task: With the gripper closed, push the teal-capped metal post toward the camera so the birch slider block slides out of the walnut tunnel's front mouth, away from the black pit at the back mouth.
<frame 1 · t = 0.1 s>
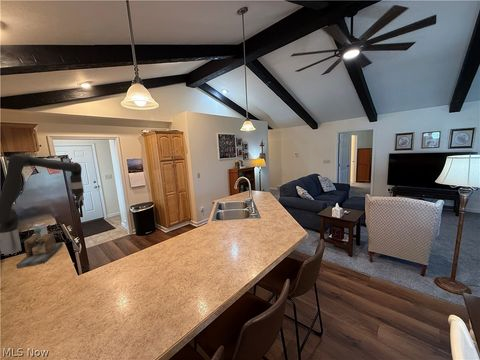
hand: (80, 207, 163), 29 cm above the kitchen counter, fingers open, 8 cm apart
syrup box: (42, 240, 171), on the kitchen counter
slider block: (39, 240, 143), point 11 cm above the kitchen counter, slide at 0.0 cm
tunnel: (42, 255, 145), on the kitchen counter
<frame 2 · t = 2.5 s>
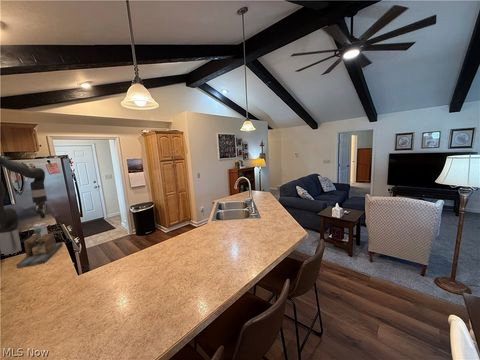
hand: (43, 218, 149), 25 cm above the kitchen counter, fingers closed
nothing on the kitchen counter moved.
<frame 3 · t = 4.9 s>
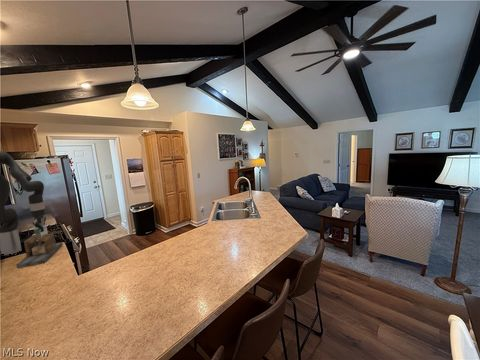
hand: (41, 231, 146), 17 cm above the kitchen counter, fingers closed
slider block: (39, 240, 143), point 11 cm above the kitchen counter, slide at -0.3 cm, touching gripper
everything else where it was.
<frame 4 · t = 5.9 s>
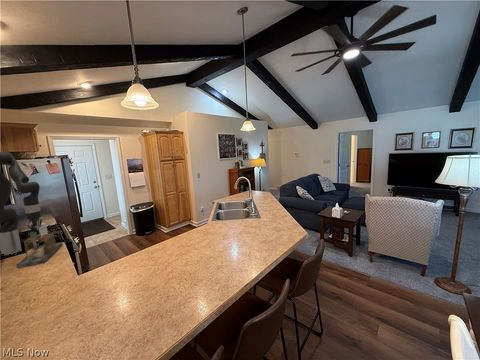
hand: (37, 234, 141), 17 cm above the kitchen counter, fingers closed
slider block: (35, 244, 138), point 11 cm above the kitchen counter, slide at -6.2 cm, touching gripper
everything else where it was.
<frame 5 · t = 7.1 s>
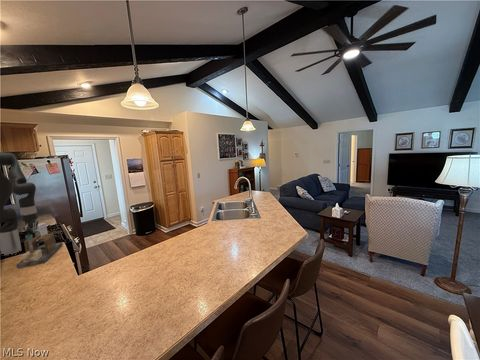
hand: (33, 237, 136), 17 cm above the kitchen counter, fingers closed
slider block: (31, 247, 133), point 11 cm above the kitchen counter, slide at -10.8 cm, touching gripper
everything else where it was.
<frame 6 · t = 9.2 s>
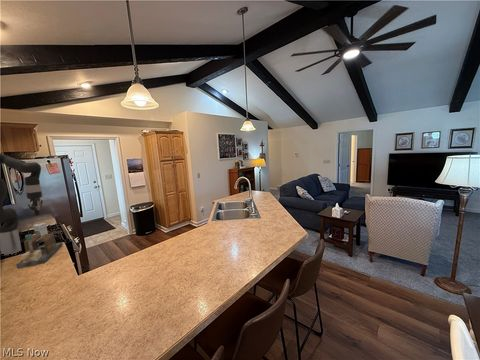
hand: (37, 215, 142), 30 cm above the kitchen counter, fingers closed
slider block: (30, 247, 133), point 11 cm above the kitchen counter, slide at -11.1 cm
everything else where it was.
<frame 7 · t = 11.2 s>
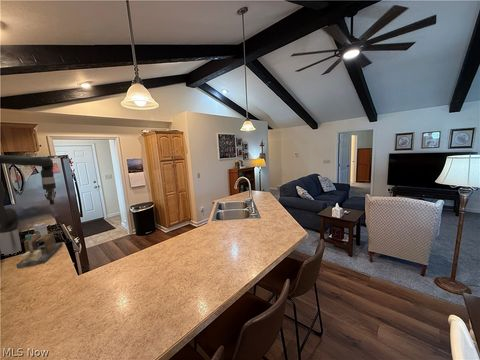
hand: (52, 204, 159), 33 cm above the kitchen counter, fingers closed
nothing on the kitchen counter moved.
at the end: slider block slide at -11.1 cm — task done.
